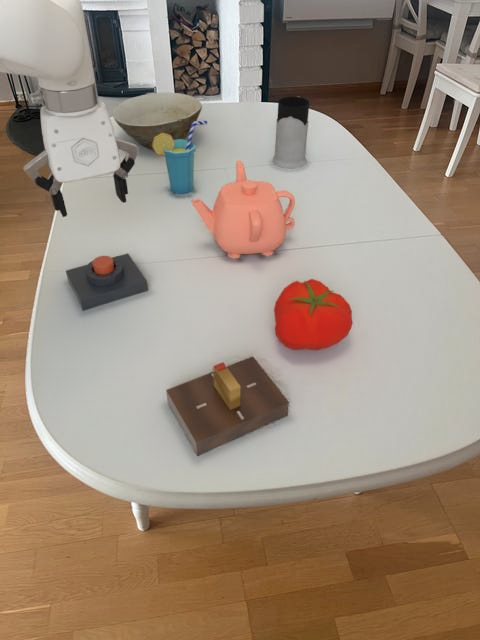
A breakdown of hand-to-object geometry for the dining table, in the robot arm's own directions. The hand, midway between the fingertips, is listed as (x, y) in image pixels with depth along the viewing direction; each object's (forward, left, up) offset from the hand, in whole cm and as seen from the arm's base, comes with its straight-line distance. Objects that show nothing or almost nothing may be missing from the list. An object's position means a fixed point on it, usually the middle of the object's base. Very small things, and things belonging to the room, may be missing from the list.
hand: (92, 205), depth 84 cm
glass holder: (+60, +32, -17) cm, 70 cm away
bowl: (+33, +57, -17) cm, 68 cm away
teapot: (+29, +2, -17) cm, 33 cm away
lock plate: (+6, -35, -17) cm, 40 cm away
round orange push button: (0, +1, -13) cm, 13 cm away
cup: (+28, +29, -17) cm, 43 cm away
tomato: (+25, -28, -17) cm, 41 cm away
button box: (0, +1, -17) cm, 17 cm away
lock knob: (+6, -35, -14) cm, 38 cm away
